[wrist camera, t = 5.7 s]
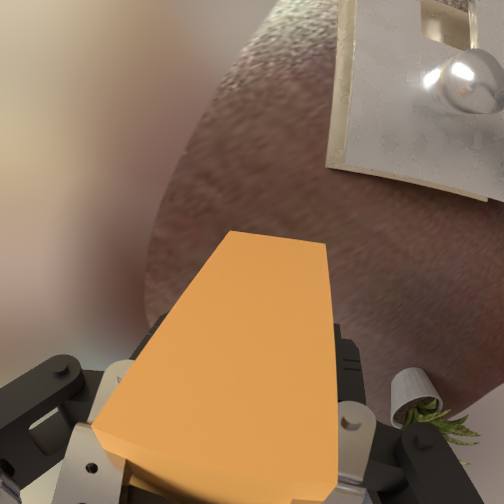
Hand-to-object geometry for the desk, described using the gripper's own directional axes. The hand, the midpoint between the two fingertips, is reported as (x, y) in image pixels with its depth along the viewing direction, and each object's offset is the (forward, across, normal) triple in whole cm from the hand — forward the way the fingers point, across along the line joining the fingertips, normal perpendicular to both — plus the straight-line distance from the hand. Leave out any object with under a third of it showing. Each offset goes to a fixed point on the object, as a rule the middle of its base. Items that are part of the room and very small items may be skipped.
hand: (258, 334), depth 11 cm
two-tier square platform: (+21, -12, -14) cm, 28 cm away
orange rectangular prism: (+3, 0, 0) cm, 3 cm away
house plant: (+21, -20, +23) cm, 37 cm away
